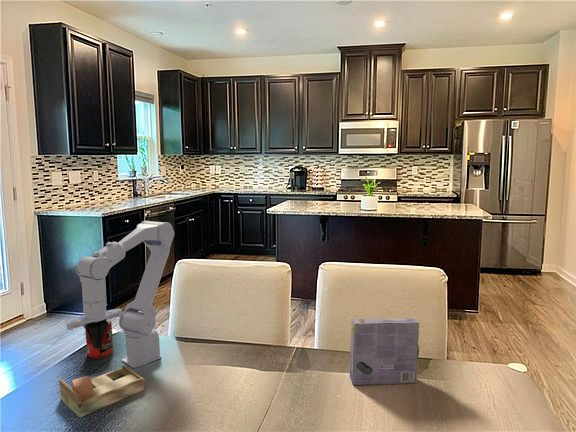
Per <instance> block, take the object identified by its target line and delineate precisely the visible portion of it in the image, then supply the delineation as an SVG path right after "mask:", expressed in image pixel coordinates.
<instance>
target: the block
mask: <svg viewBox="0 0 576 432" xmlns="http://www.w3.org/2000/svg"><path fill="white" fill-rule="evenodd" d="M91 379H92V378H91V377H90V375H86V376H83V377H82V376H81V377H79V378H74V379H72V380H71V386H72V389H73V390H75V391H76V392H77V393H78V394H79V395H80V396H81V400H84V399H87V398H90V397H93V388H92V381H91Z"/></svg>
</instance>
